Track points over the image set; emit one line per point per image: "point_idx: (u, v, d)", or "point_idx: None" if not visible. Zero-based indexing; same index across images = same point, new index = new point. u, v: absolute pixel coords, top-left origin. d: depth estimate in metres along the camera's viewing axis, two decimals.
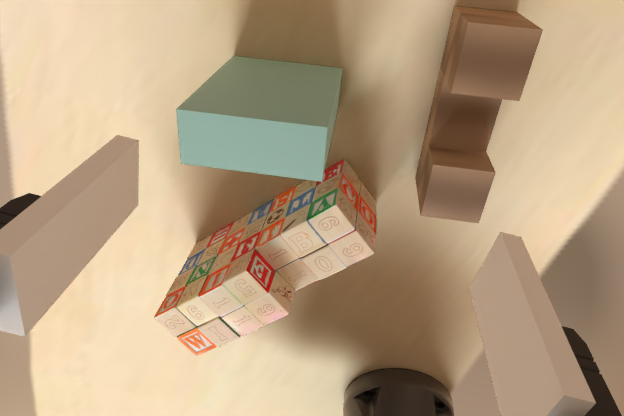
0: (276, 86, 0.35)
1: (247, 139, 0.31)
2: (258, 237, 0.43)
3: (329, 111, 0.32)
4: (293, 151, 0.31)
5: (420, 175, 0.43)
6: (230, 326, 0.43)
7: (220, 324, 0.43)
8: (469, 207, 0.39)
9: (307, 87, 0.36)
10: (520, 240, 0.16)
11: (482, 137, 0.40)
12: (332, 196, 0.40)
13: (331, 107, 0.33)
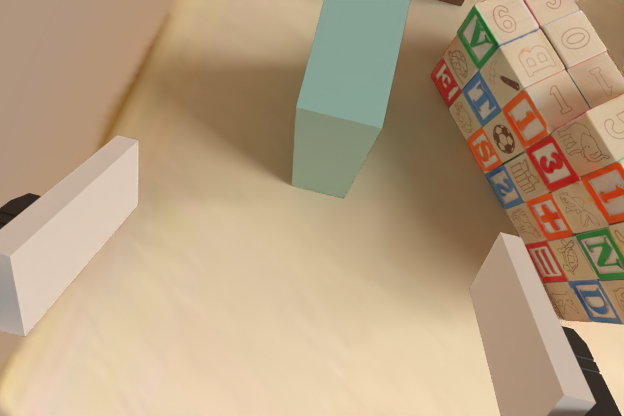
0: None
1: (351, 23, 0.22)
2: (534, 144, 0.28)
3: None
4: None
5: None
6: None
7: None
8: None
9: None
10: (520, 240, 0.16)
11: None
12: (467, 34, 0.30)
13: None
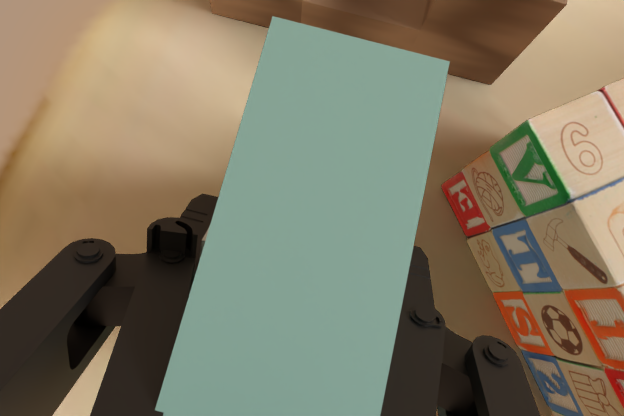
0: None
1: (280, 266, 0.09)
2: None
3: None
4: (339, 126, 0.10)
5: (482, 54, 0.23)
6: None
7: None
8: None
9: None
10: None
11: None
12: (507, 156, 0.17)
13: None
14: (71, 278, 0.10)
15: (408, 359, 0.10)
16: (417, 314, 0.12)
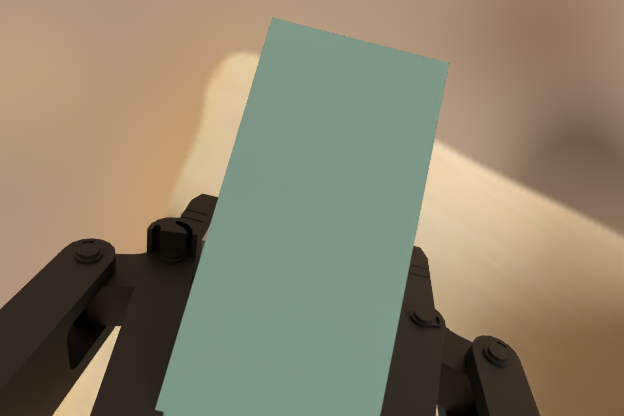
0: None
1: (280, 267, 0.09)
2: None
3: None
4: (339, 127, 0.10)
5: None
6: None
7: None
8: None
9: None
10: None
11: None
12: None
13: None
14: (71, 278, 0.10)
15: (408, 359, 0.10)
16: (417, 314, 0.12)
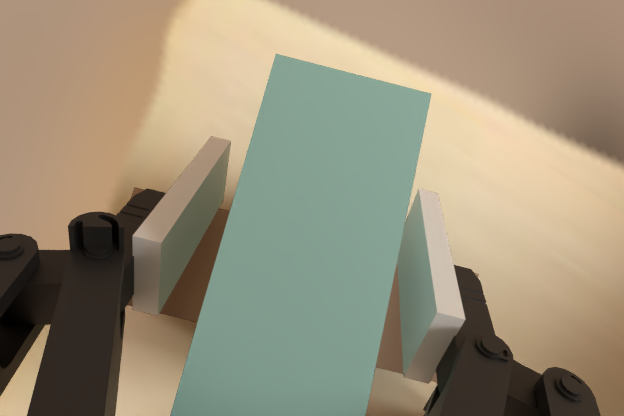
0: None
1: (282, 273, 0.10)
2: None
3: None
4: (334, 151, 0.11)
5: None
6: None
7: None
8: None
9: None
10: (436, 196, 0.17)
11: None
12: None
13: None
14: None
15: (471, 389, 0.10)
16: (484, 344, 0.11)
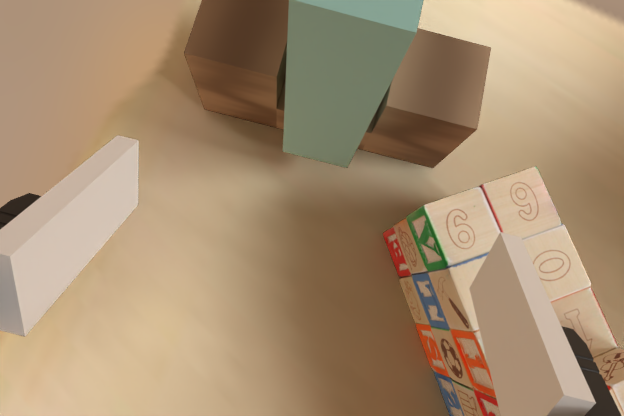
0: None
1: None
2: (483, 394, 0.21)
3: None
4: None
5: (422, 150, 0.29)
6: None
7: None
8: (462, 59, 0.25)
9: None
10: (520, 240, 0.16)
11: None
12: (416, 226, 0.23)
13: None
14: None
15: None
16: None
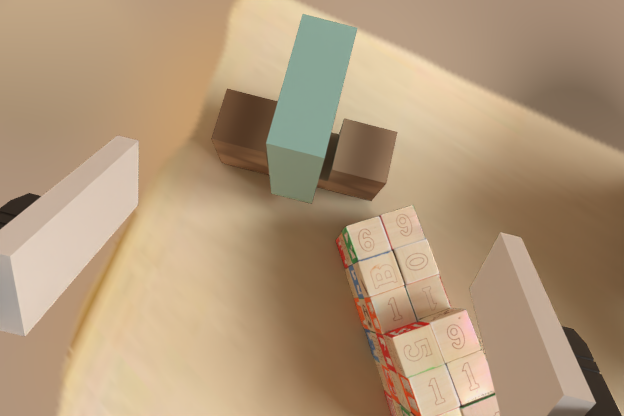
0: None
1: (306, 84, 0.31)
2: (378, 333, 0.38)
3: None
4: (323, 46, 0.32)
5: (360, 191, 0.45)
6: (478, 398, 0.33)
7: (472, 410, 0.32)
8: (379, 139, 0.42)
9: None
10: (520, 240, 0.16)
11: None
12: (346, 237, 0.40)
13: None
14: None
15: None
16: None
